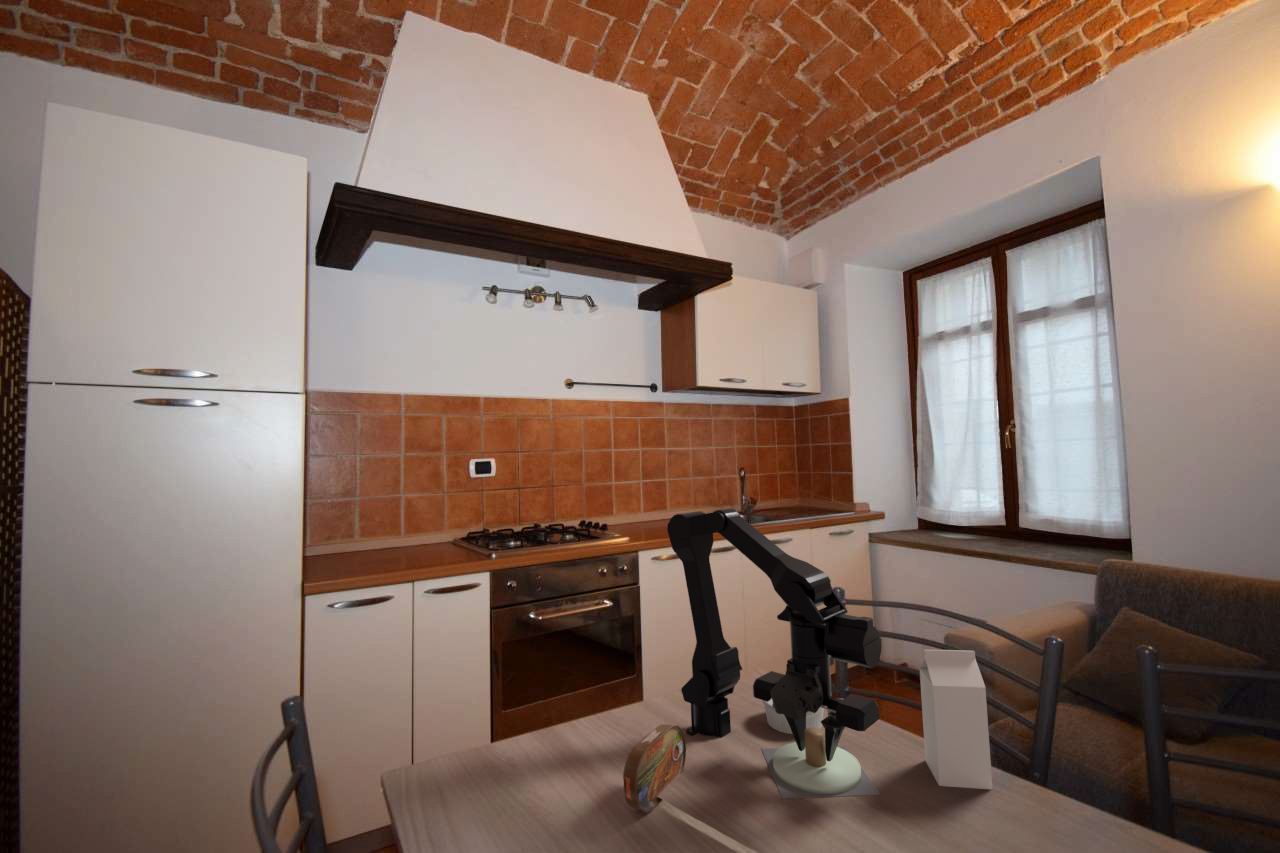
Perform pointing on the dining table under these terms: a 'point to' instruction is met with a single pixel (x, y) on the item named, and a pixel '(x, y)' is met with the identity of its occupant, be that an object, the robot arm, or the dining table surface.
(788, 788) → the mat
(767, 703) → the ramekin
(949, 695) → the milk carton
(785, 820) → the dining table surface
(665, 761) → the tin
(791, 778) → the lid
